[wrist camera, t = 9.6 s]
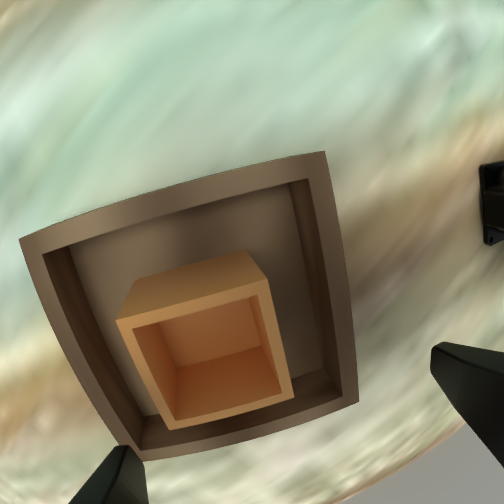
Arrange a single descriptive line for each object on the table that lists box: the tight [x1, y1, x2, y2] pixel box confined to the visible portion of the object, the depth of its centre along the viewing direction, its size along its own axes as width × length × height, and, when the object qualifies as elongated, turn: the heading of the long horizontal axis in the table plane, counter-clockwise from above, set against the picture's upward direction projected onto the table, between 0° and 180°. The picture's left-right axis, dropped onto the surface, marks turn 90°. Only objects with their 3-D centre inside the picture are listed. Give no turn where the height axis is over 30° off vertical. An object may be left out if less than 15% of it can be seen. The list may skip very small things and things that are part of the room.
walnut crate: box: [19, 151, 359, 462], centre depth 16 cm, size 14×14×4 cm
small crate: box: [116, 249, 294, 430], centre depth 15 cm, size 6×6×5 cm
